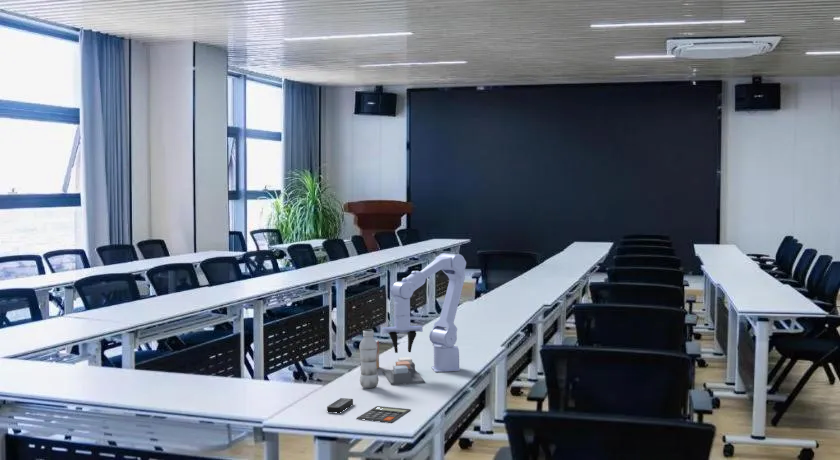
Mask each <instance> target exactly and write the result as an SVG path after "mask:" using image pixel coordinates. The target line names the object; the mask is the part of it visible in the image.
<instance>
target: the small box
mask: <svg viewBox="0 0 840 460" xmlns="http://www.w3.org/2000/svg"><path fill="white" fill-rule="evenodd" d="M375 341H376V342H377V345H378V348H377V360H376V366H377V370H378V369H379V368H380V342H379V340H376V339H375ZM359 357H360V358H359V360H360V361H359V362H360V365H359V366H361V355H360V354H359Z"/></svg>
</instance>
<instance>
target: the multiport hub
mask: <svg viewBox="0 0 840 460" xmlns="http://www.w3.org/2000/svg"><path fill="white" fill-rule="evenodd" d="M351 405H352V406H354V398H344V397H340V398H339V399H336V400H335V401H334V402H332V403H330V404H329V405H327V406H326V412H327V411H328V412H337V413H340V412H342V411H343V410H345V409H346V408H348V407H349V408H351V407H352V406H351ZM350 406H351V407H350ZM349 408H348V409H349ZM346 410H347V409H346ZM346 410H345V411H346ZM343 412H344V411H343ZM343 412H342V413H343ZM340 414H341V413H340Z"/></svg>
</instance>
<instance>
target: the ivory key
mask: <svg viewBox="0 0 840 460" xmlns="http://www.w3.org/2000/svg"><path fill="white" fill-rule="evenodd" d="M397 359H398V360H397V362H401V361H408V362H409V363H410V364H412V362H413V359H412V357H411V356H404V357H398V358H397Z"/></svg>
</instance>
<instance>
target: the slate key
mask: <svg viewBox="0 0 840 460" xmlns="http://www.w3.org/2000/svg"><path fill="white" fill-rule="evenodd" d="M393 366H394V373H395V374H399V373H408V367H407V366H406V365H404V366H396V365H393Z"/></svg>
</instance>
